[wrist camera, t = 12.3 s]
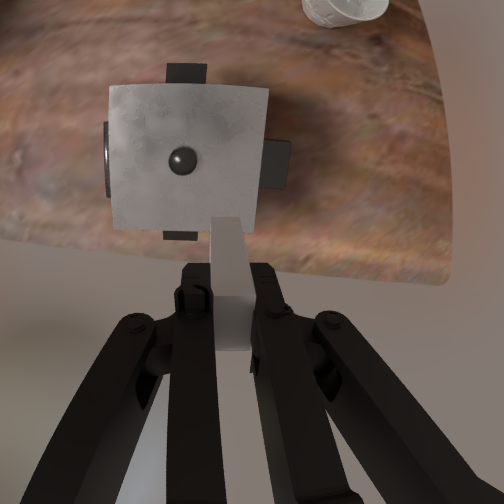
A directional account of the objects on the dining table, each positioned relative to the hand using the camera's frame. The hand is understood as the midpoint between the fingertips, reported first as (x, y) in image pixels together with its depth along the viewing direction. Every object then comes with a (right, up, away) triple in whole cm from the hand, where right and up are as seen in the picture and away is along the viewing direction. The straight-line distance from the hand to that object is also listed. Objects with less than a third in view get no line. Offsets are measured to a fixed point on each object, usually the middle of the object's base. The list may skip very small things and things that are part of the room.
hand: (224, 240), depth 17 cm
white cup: (+11, +31, +14) cm, 36 cm away
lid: (-4, +9, +14) cm, 17 cm away
